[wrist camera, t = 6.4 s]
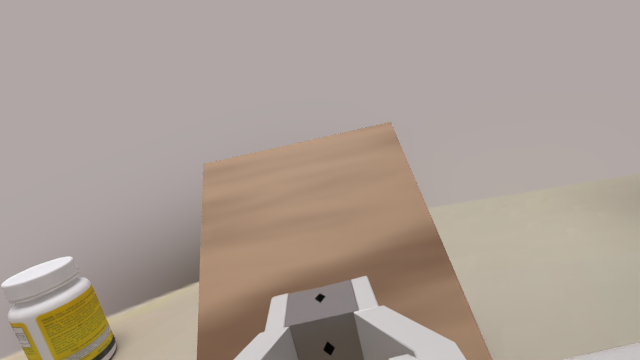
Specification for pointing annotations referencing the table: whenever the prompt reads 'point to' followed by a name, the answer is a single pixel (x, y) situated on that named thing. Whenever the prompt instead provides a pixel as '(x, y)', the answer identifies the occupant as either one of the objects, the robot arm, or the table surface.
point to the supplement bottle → (58, 313)
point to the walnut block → (322, 238)
